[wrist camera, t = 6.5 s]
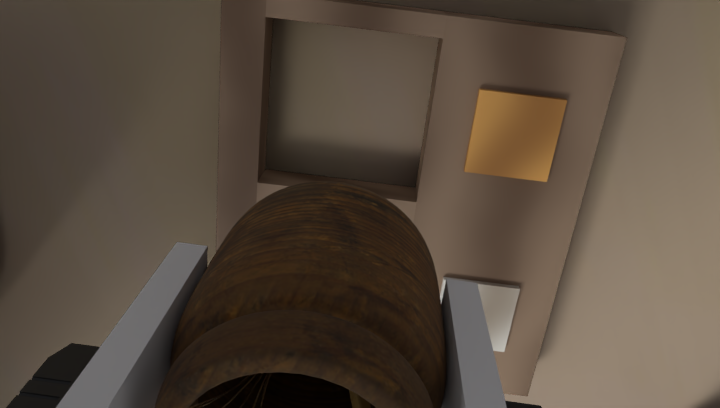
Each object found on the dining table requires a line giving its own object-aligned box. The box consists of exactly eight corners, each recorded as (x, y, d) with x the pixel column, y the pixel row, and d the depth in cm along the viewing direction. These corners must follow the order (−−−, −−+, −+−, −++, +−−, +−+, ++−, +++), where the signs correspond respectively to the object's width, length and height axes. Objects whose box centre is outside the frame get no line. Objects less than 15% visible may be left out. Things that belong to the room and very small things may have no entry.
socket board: (222, 336, 37) (212, 360, 34) (232, -15, 29) (219, -12, 27) (520, 373, 37) (528, 400, 34) (612, 31, 29) (629, 38, 27)
